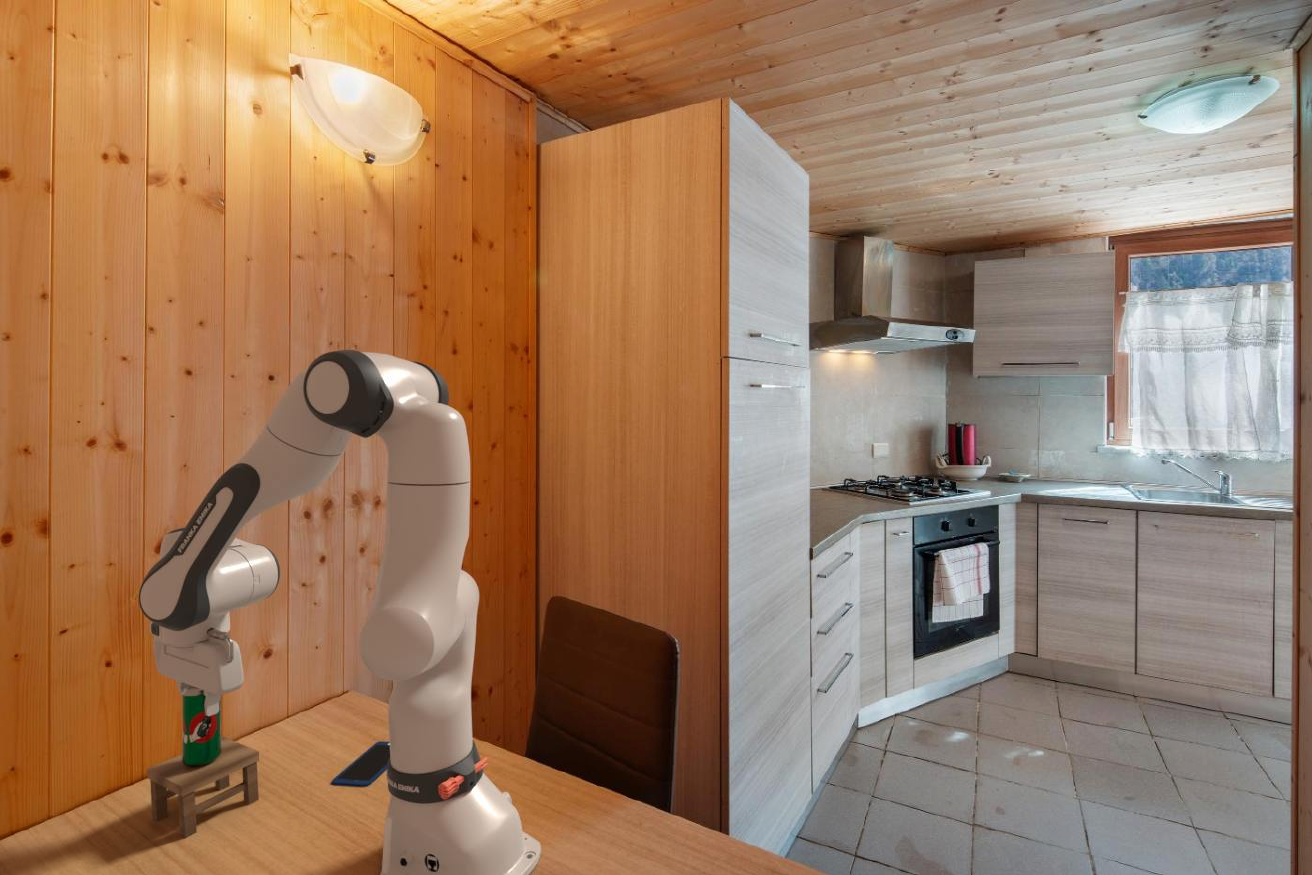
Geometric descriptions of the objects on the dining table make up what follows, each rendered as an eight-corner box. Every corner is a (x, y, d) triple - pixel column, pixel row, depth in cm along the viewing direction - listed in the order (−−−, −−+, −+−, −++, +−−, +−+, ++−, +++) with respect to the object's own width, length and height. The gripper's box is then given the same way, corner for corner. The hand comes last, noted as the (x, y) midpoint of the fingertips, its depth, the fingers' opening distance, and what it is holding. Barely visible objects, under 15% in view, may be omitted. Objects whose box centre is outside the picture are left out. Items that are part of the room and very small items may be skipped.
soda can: (229, 754, 101) (228, 679, 102) (200, 768, 96) (200, 690, 97) (203, 753, 102) (203, 679, 103) (173, 767, 97) (174, 689, 98)
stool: (261, 798, 102) (258, 751, 102) (184, 839, 92) (181, 786, 92) (225, 782, 107) (223, 736, 107) (149, 818, 98) (147, 768, 97)
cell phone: (413, 746, 118) (413, 742, 118) (368, 789, 104) (367, 785, 104) (378, 744, 119) (378, 740, 119) (329, 786, 105) (328, 782, 105)
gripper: (253, 627, 97) (257, 714, 97) (188, 611, 107) (191, 690, 107) (208, 640, 91) (212, 732, 92) (143, 622, 101) (147, 705, 101)
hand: (200, 709), depth 99 cm, fingers closed on soda can, 5 cm apart
